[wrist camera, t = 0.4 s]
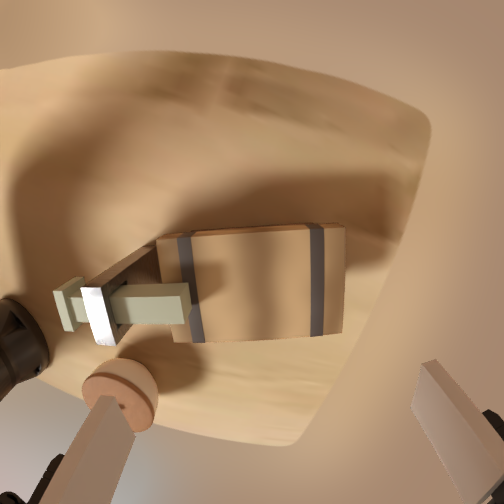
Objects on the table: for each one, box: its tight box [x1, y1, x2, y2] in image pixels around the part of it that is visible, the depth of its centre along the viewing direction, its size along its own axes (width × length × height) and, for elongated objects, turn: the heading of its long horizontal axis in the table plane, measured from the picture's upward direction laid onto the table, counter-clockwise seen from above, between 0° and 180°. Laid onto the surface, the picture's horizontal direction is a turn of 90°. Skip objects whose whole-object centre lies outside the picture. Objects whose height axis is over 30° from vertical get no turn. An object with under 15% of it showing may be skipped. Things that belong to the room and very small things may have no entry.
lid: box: [156, 223, 346, 343], centre depth 27 cm, size 16×10×4 cm, turn 94°
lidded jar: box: [82, 358, 158, 432], centre depth 34 cm, size 11×11×9 cm
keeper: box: [81, 245, 162, 346], centre depth 28 cm, size 2×5×14 cm, turn 4°
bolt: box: [53, 277, 192, 332], centre depth 23 cm, size 12×4×4 cm, turn 94°
